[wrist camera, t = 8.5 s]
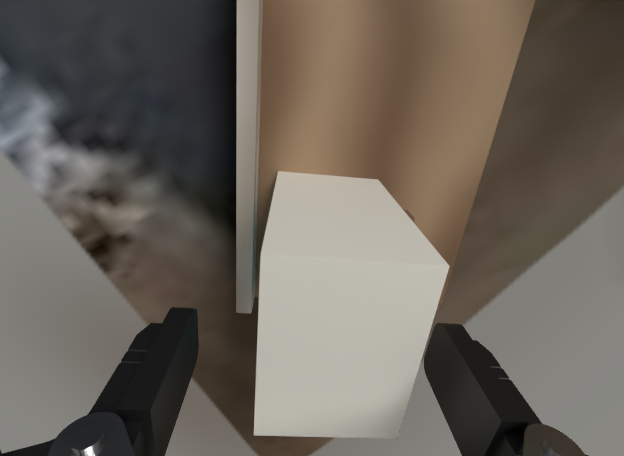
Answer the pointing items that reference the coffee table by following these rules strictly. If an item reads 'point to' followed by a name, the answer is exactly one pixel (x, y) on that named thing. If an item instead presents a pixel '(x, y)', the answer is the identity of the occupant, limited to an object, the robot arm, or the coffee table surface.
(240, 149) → the wooden board with ledge
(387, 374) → the carton
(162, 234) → the coffee table surface
